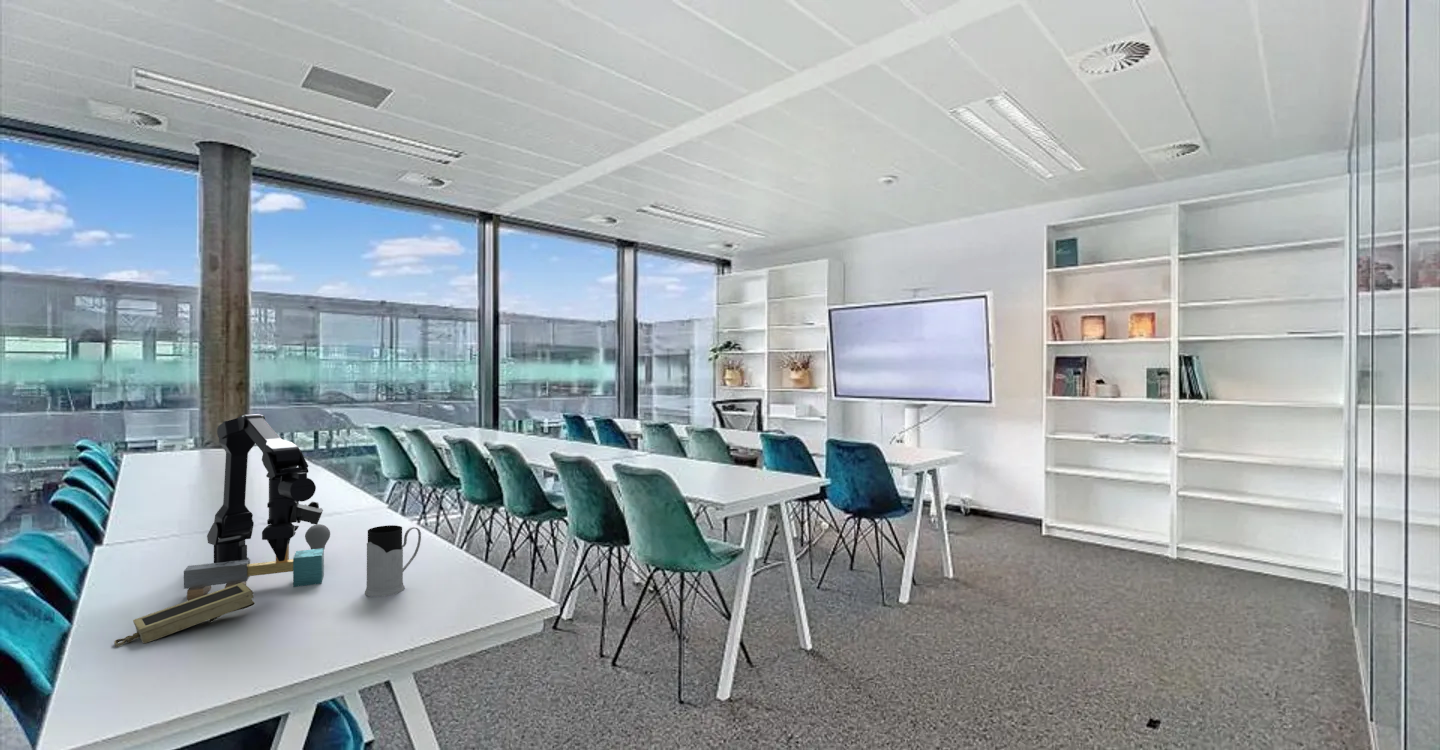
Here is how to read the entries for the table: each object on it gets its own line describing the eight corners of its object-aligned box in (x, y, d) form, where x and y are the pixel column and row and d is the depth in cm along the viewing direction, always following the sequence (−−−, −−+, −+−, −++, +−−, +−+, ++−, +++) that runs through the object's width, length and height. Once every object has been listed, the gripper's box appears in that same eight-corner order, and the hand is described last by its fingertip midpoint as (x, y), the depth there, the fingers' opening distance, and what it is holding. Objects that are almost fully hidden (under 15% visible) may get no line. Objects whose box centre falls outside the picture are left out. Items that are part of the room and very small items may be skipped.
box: (258, 610, 141) (254, 588, 140) (121, 663, 124) (114, 638, 123) (247, 601, 146) (243, 581, 146) (114, 651, 129) (108, 628, 129)
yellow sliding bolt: (213, 580, 154) (213, 553, 154) (216, 577, 157) (216, 550, 156) (307, 569, 163) (308, 544, 163) (309, 566, 165) (309, 541, 165)
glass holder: (356, 592, 156) (356, 530, 156) (408, 576, 169) (409, 518, 169) (379, 599, 152) (379, 535, 152) (431, 581, 165) (431, 522, 165)
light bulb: (310, 564, 177) (310, 528, 177) (301, 560, 181) (301, 524, 181) (333, 559, 182) (334, 524, 182) (324, 555, 186) (324, 521, 186)
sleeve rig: (181, 601, 149) (181, 571, 149) (190, 590, 156) (190, 561, 156) (321, 584, 162) (321, 555, 162) (323, 574, 169) (323, 547, 169)
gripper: (317, 500, 157) (317, 565, 157) (323, 487, 173) (323, 545, 173) (261, 505, 152) (261, 571, 152) (273, 491, 168) (273, 551, 168)
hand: (282, 559), depth 161 cm, fingers closed on yellow sliding bolt, 3 cm apart
